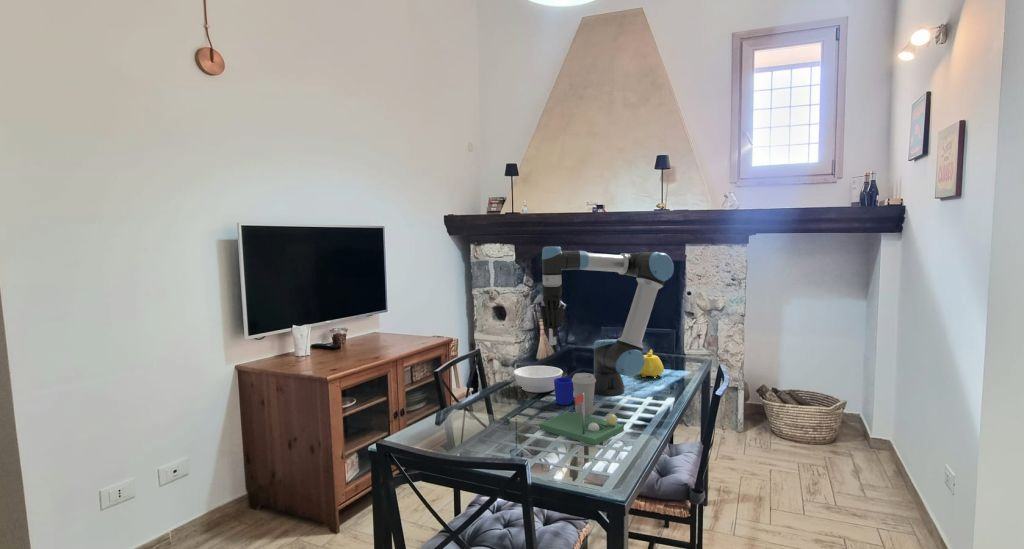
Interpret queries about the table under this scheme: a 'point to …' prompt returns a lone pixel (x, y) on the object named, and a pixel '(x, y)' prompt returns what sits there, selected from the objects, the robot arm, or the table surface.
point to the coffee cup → (584, 391)
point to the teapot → (652, 365)
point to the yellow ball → (611, 419)
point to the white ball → (593, 427)
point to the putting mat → (580, 428)
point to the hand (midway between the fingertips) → (552, 344)
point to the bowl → (537, 378)
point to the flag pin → (579, 400)
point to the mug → (564, 391)
